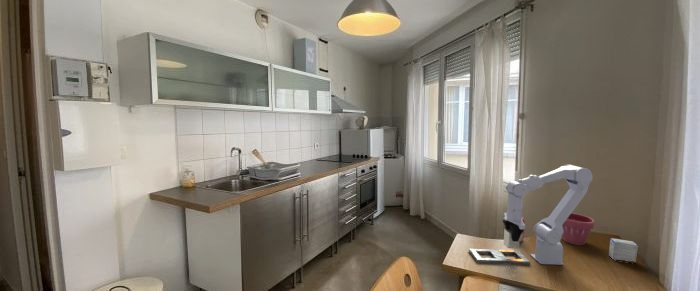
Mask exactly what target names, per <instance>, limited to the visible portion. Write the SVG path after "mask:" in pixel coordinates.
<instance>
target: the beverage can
mask: <svg viewBox="0 0 700 291" xmlns="http://www.w3.org/2000/svg"><path fill="white" fill-rule="evenodd" d="M522 221H523V223H524V224H525V225H526V222H525V221H526V220H525V219H524V217H523V216H522ZM524 234H525V230H524V231H523V232H522V234H521V236H520V238H519V243H520V242H523V241H524V237H525V236H524Z"/></svg>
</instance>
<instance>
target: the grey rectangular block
mask: <svg viewBox="0 0 700 291" xmlns="http://www.w3.org/2000/svg"><path fill="white" fill-rule="evenodd" d="M503 245H504V246H506V247H507V249H519V248H520V242H519V241H518V242H516V241H513V240H512V231H511V229H506V228H504V229H503Z"/></svg>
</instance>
